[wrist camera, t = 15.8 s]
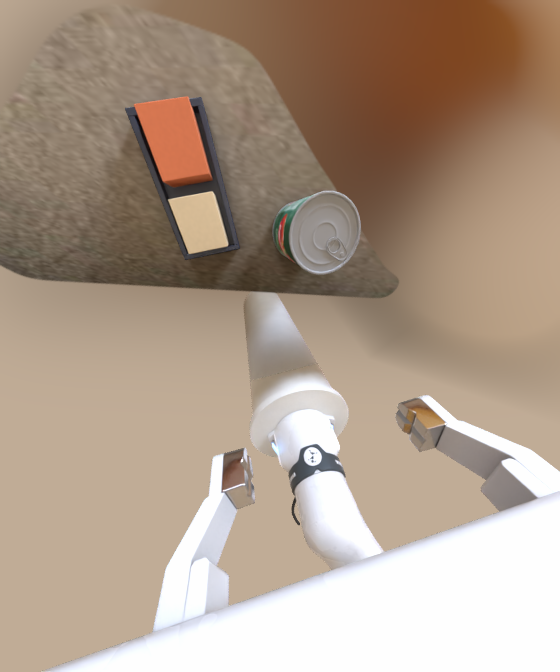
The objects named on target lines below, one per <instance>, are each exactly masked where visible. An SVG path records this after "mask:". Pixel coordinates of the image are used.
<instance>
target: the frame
mask: <svg viewBox="0 0 560 672" xmlns="http://www.w3.org/2000/svg"><path fill="white" fill-rule="evenodd" d="M189 101H190V103H191V106H192V109H193V111H194V114H195V117H196V120H197V124H198V128H199V131H200V135H201V139H202V142H203V146H204V150H205V153H206V157H207V161H208V164H209V168H210V172H211V175H212V179H213V180H212V181H207V182H201V183H196V184H190V185H184V186H179V187H171V186H170V185H168V184H166V183H164V182H163V181H162V178H161V175H160V173H159V170H158V167H157V165H156V162H155V160H154V157H153V154H152V152H151V149H150V146H149V144H148V141H147V138H146V136H145V133H144V130H143V128H142V125H141V122H140V120H139V117H138V114H137V112H136V109H135V107H130V108H125V110H126V113H127V115H128V118H129V120H130V123H131V125H132V128H133V130H134V133H135V135H136V138H137V140H138V143H139V145H140V148H141V150H142V153H143V155H144V158H145V160H146V163H147V165H148V168H149V170H150V173H151V175H152V178H153V181H154V183H155V186H156V188H157V191H158V193H159V196H160V198H161V201H162V203H163V206H164V208H165V211H166V213H167V216H168V218H169V221H170V223H171V226H172V228H173V231H174V233H175V236H176V238H177V241H178V243H179V246H180V248H181V251H182V254H183V255H184V258H185V260H188V259H193V258H197V257H202V256H207V255H212V254H216V253H221V252H226V251H231V250H236V249H240V247H239V243H238V239H237V235H236V231H235V227H234V223H233V219H232V215H231V211H230V207H229V203H228V199H227V196H226V192H225V188H224V184H223V180H222V176H221V172H220V168H219V164H218V160H217V156H216V152H215V148H214V144H213V140H212V136H211V132H210V128H209V125H208V121H207V117H206V113H205V109H204V105H203V101H202V98H201V97H198V98H191V99H189ZM211 191H213V193H214V194H215V196H216V198H217V202H218V206H219V209H220V213H221V217H222V220H223V224H224V227H225V231H226V235H227V238H228V242H229V244H228V246H227V247H222V248H217V249H212V250H207V251H203V252H198V253H193V254H189V253H188V251H187V248H186V245H185V243H184V240H183V237H182V235H181V232H180V230H179V227H178V224H177V222H176V219H175V217H174V214H173V211H172V209H171V206H170V203H169V201H168V199H173V198H179V197H184V196H189V195H195V194H200V193H206V192H211Z"/></svg>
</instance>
